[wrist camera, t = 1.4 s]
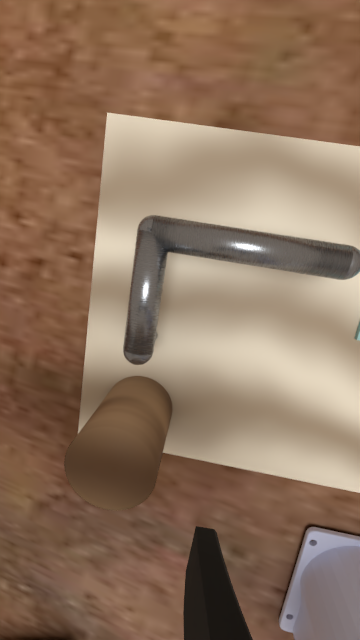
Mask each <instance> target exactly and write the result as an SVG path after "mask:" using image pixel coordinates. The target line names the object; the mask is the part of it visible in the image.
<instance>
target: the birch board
mask: <svg viewBox="0 0 360 640" xmlns="http://www.w3.org/2000/svg"><path fill="white" fill-rule="evenodd" d="M150 215H158V216H164V217H171V218H177V219H183V220H190V221H196V222H203V223H209V224H216V225H222V226H229V227H235V228H242V229H248V230H255V231H261V232H268V233H274V234H281V235H287V236H294V237H300V238H306V239H313V240H319V241H326V242H332V243H339V244H345V245H351V246H354V247H356V248H357V249H359V250H360V147H359V146H352V145H344V144H337V143H330V142H322V141H315V140H307V139H300V138H292V137H285V136H277V135H270V134H262V133H255V132H247V131H240V130H232V129H225V128H218V127H210V126H203V125H195V124H188V123H180V122H173V121H165V120H158V119H150V118H143V117H135V116H128V115H121V114H113V113H107V122H106V133H105V144H104V155H103V165H102V176H101V187H100V198H99V209H98V220H97V231H96V242H95V253H94V263H93V274H92V285H91V296H90V307H89V318H88V329H87V340H86V351H85V361H84V372H83V383H82V394H81V405H80V416H79V427H78V433H79V432H80V431H81V429H82V428H83V427H84V425H85V424H86V423H87V421H88V420H89V419H90V417H91V416H92V415H93V413H94V412H95V411H96V409H97V408H98V407H99V405H100V404H101V402H102V401H103V400H104V398H105V397H106V396H107V394H108V393H109V392H110V390H111V389H112V388H113V386H114V385H115V384H116V383H118V382H119V381H121V380H122V379H124V378H127V377H131V376H144V377H148V378H151V379H153V380H155V381H157V382H158V383H159V384H161V385H162V386H163V387H164V388H165V390H166V391H167V392H168V394H169V396H170V398H171V401H172V409H173V410H172V416H171V420H170V425H169V429H168V433H167V437H166V441H165V445H164V449H163V453H168V454H173V455H177V456H182V457H187V458H192V459H197V460H202V461H207V462H212V463H216V464H221V465H226V466H231V467H236V468H241V469H246V470H251V471H256V472H260V473H265V474H270V475H275V476H280V477H285V478H290V479H295V480H300V481H304V482H309V483H314V484H319V485H324V486H329V487H334V488H339V489H344V490H348V491H353V492H358V493H360V341H359V340H356V339H354V338H355V335H356V332H357V328H358V325H359V322H360V272H359V273H358V274H357V275H356V276H354V277H353V278H350V279H347V280H337V279H331V278H325V277H319V276H313V275H306V274H300V273H294V272H288V271H282V270H276V269H269V268H263V267H257V266H251V265H245V264H239V263H232V262H226V261H220V260H214V259H208V258H201V257H195V256H189V255H183V254H177V253H171V252H168V255H167V262H166V269H165V276H164V283H163V290H162V296H161V303H160V310H159V317H158V324H157V331H156V332H157V335H158V336H157V339H156V341H155V345H154V352H153V355H152V357H151V359H150V360H149V361H148V362H147V363H145V364H142V365H134V364H132V363H130V362H128V361H127V360H126V358H125V356H124V354H123V344H124V336H125V328H126V320H127V311H128V303H129V295H130V287H131V278H132V270H133V262H134V253H135V245H136V237H137V229H138V225H139V223H140V222H141V221H142V220H143V219H144V218H145V217H147V216H150Z"/></svg>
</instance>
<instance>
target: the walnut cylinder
mask: <svg viewBox="0 0 360 640" xmlns="http://www.w3.org/2000/svg"><path fill="white" fill-rule="evenodd" d="M172 410H173V409H172V401H171V398H170V396H169V394H168V392H167V391H166V390H165V388H164V387H163V386H162V385H161V384H159V383H158V382H157V381H155V380H153V379H151V378H148V377H144V376H131V377H127V378H124V379H122V380H121V381H119V382H118V383H116V384H115V385H114V386H113V388H112V389H111V390H110V392H109V393H108V394H107V396H106V397H105V398H104V400H103V401H102V402H101V404H100V405H99V407H98V408H97V409H96V411H95V412H94V413H93V415H92V416H91V417H90V419H89V420H88V421H87V423H86V424H85V425H84V427H83V428H82V429H81V431H80V432H79V433H78V435H77V436H76V437H75V439H74V440H73V441H72V443H71V444H70V446H69V447H68V449H67V452H66V455H65V464H64V466H65V472H66V476H67V479H68V481H69V483H70V485H71V486H72V488H73V489H74V491H75V492H76V493H77V494H78V495H79V496H80V497H81V498H83V499H84V500H85V501H87V502H88V503H90V504H92V505H94V506H96V507H99V508H102V509H106V510H116V511H117V510H126V509H130V508H133V507H135V506H137V505H139V504H141V503H142V502H143V501H145V500H146V499H147V498H148V496H149V495H150V494H151V492H152V491H153V489H154V486H155V483H156V479H157V474H158V470H159V466H160V462H161V458H162V454H163V449H164V445H165V441H166V437H167V433H168V429H169V425H170V420H171V416H172Z"/></svg>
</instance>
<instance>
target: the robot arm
mask: <svg viewBox="0 0 360 640" xmlns="http://www.w3.org/2000/svg"><path fill="white" fill-rule="evenodd" d="M311 540H313V541H311ZM279 625H280V628H281V629H282V630H284V631H287V632H291V633H293V636H294V640H360V537H359V536H354V535H350V534H345V533H340V532H336V531H331V530H326V529H322V528H317V527H310V528H308V529H307V531H306V533H305V536H304V540H303V543H302V546H301V550H300V553H299V556H298V559H297V563H296V566H295V569H294V572H293V576H292V579H291V582H290V585H289V589H288V592H287V595H286V598H285V602H284V605H283V608H282V611H281V615H280V618H279ZM184 640H253V639H252V637H251V634H250V632H249V629H248V627H247V624H246V622H245V619H244V617H243V614H242V611H241V608H240V606H239V603H238V600H237V598H236V595H235V592H234V589H233V586H232V583H231V581H230V577H229V574H228V571H227V568H226V565H225V562H224V558H223V555H222V552H221V548H220V544H219V541H218V537H217V533H216V531H215V530H214V529H208V528H203V527H197V526H196V529H195V533H194V538H193V542H192V547H191V551H190V556H189V560H188V565H187V569H186V579H185V596H184Z"/></svg>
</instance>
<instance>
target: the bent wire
mask: <svg viewBox="0 0 360 640" xmlns="http://www.w3.org/2000/svg"><path fill="white" fill-rule="evenodd" d="M168 252H171V253H177V254H183V255H189V256H195V257H201V258H208V259H214V260H220V261H226V262H232V263H239V264H245V265H251V266H257V267H263V268H269V269H276V270H282V271H288V272H294V273H300V274H306V275H313V276H319V277H325V278H331V279H337V280H347V279H350V278H353V277H354V276H356V275H357V274H358V273H359V272H360V250H359V249H357V248H356V247H354V246H351V245H345V244H339V243H332V242H326V241H319V240H313V239H306V238H300V237H294V236H287V235H281V234H274V233H268V232H261V231H255V230H248V229H242V228H235V227H229V226H222V225H216V224H209V223H203V222H196V221H190V220H183V219H177V218H171V217H164V216H158V215H150V216H147V217H145V218H144V219H143V220H142V221H141V222H140V223H139V225H138V229H137V237H136V245H135V253H134V262H133V270H132V278H131V287H130V295H129V303H128V311H127V320H126V328H125V336H124V344H123V354H124V356H125V358H126V360H127V361H128V362H130V363H132V364H134V365H142V364H145V363H147V362H148V361H149V360H150V359H151V357H152V355H153V352H154V345H155V341H156V339H157V336H158V335H157V332H156V331H157V324H158V317H159V310H160V303H161V296H162V290H163V283H164V276H165V269H166V262H167V255H168Z"/></svg>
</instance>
